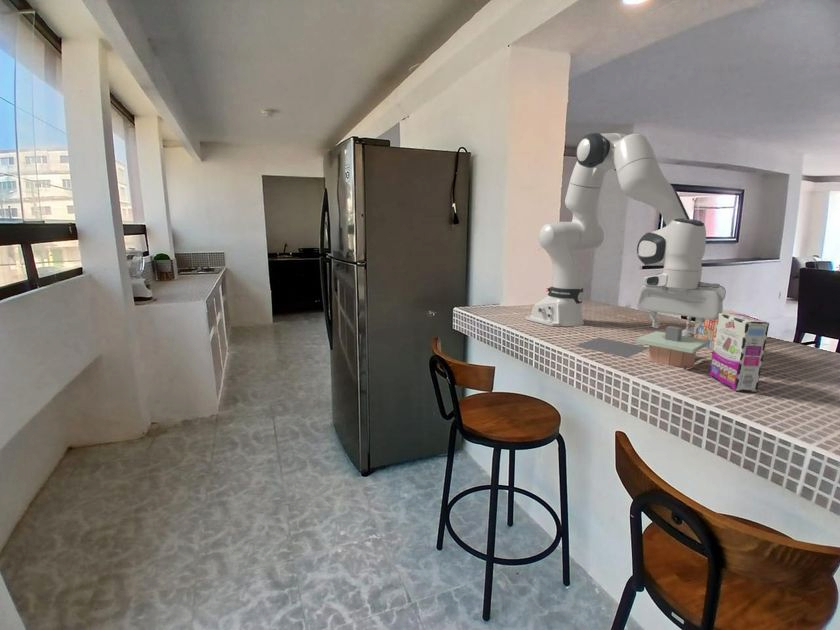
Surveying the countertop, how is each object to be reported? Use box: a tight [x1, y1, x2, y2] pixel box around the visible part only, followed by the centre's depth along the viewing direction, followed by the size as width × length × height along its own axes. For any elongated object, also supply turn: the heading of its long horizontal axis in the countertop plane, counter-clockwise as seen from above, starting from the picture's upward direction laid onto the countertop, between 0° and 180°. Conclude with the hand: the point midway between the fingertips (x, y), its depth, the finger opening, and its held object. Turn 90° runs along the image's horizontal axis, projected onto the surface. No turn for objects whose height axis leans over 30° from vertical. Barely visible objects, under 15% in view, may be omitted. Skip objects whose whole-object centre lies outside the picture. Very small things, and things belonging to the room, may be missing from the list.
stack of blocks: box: [694, 309, 753, 350], centre depth 131 cm, size 21×6×12 cm, turn 170°
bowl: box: [647, 345, 697, 369], centre depth 118 cm, size 11×11×6 cm
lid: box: [635, 325, 710, 353], centre depth 117 cm, size 14×14×4 cm
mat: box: [574, 337, 649, 358], centre depth 131 cm, size 16×16×1 cm
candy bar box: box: [709, 313, 770, 393], centre depth 100 cm, size 11×5×16 cm, turn 174°
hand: (674, 330), depth 117 cm, fingers open, 8 cm apart
